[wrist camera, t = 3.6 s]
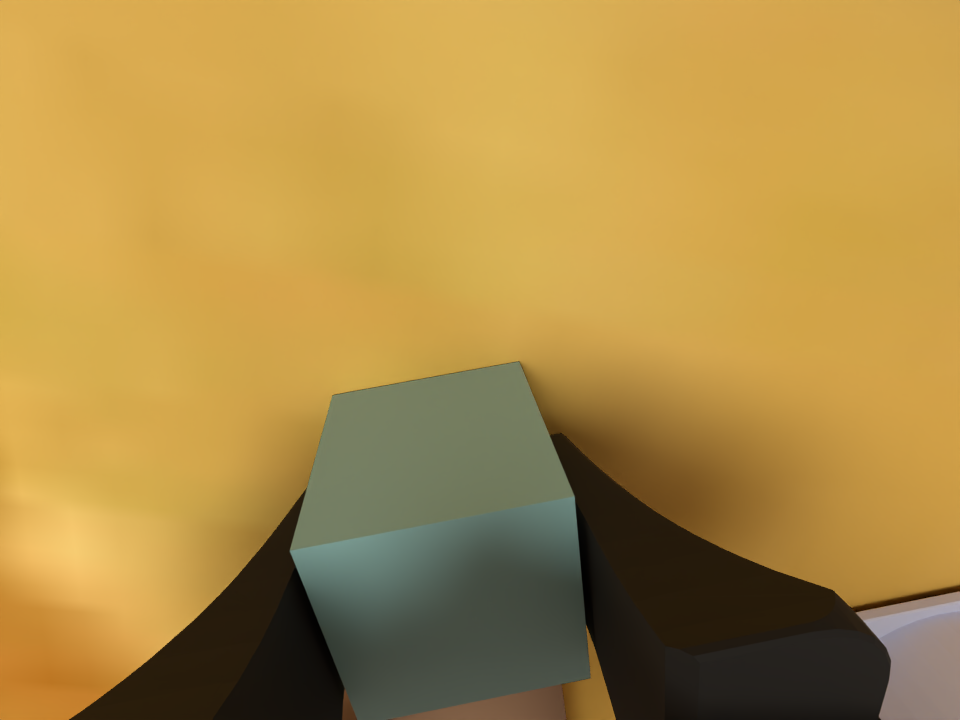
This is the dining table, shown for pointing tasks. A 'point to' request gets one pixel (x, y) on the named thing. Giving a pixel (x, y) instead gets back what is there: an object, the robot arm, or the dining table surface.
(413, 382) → the teal block
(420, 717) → the walnut block
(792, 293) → the dining table surface
